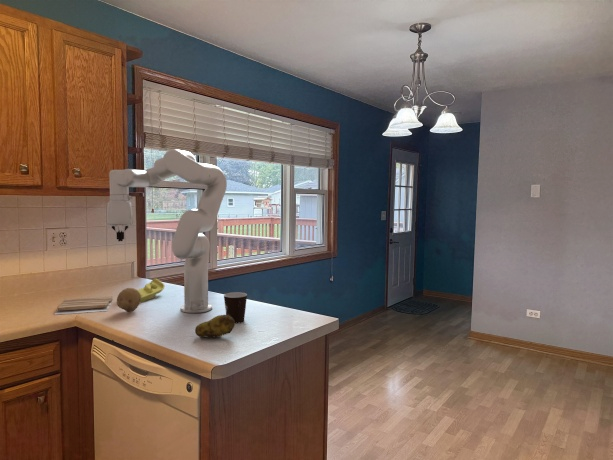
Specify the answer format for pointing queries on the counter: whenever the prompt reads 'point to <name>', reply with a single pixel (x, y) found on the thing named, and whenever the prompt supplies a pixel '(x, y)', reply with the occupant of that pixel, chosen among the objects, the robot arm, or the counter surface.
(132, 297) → the natural sponge
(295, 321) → the counter surface
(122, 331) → the counter surface
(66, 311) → the laid floor
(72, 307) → the plank
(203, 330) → the potato
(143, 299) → the plastic component
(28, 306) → the counter surface
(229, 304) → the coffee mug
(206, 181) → the robot arm
